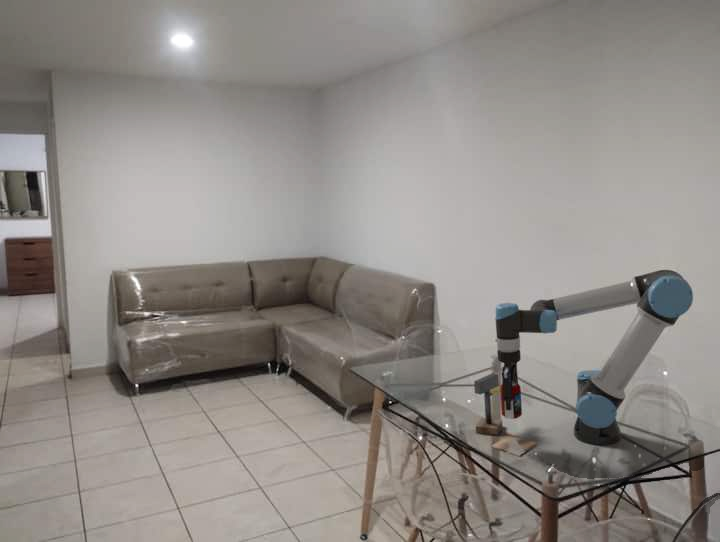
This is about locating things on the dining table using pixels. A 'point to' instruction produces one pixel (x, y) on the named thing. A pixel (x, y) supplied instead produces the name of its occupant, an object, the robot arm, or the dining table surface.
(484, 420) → the latch housing
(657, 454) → the dining table surface
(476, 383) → the t key
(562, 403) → the dining table surface
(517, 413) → the beverage can
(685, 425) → the dining table surface
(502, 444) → the mat
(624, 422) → the dining table surface
